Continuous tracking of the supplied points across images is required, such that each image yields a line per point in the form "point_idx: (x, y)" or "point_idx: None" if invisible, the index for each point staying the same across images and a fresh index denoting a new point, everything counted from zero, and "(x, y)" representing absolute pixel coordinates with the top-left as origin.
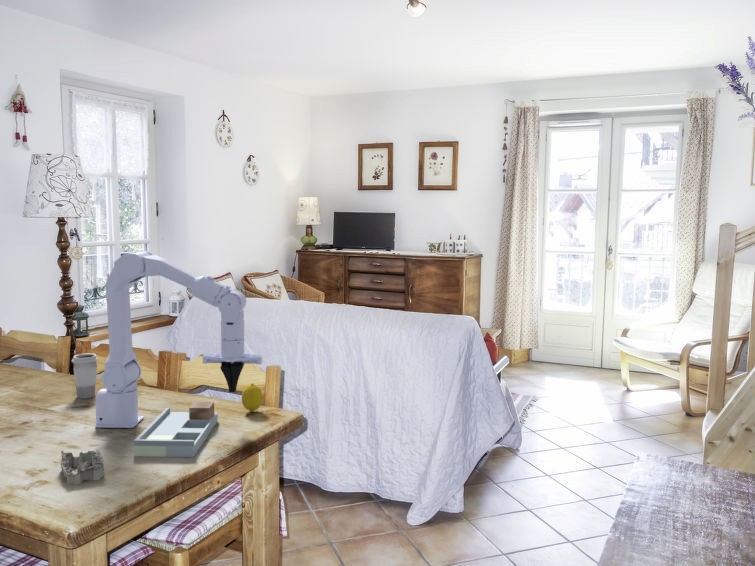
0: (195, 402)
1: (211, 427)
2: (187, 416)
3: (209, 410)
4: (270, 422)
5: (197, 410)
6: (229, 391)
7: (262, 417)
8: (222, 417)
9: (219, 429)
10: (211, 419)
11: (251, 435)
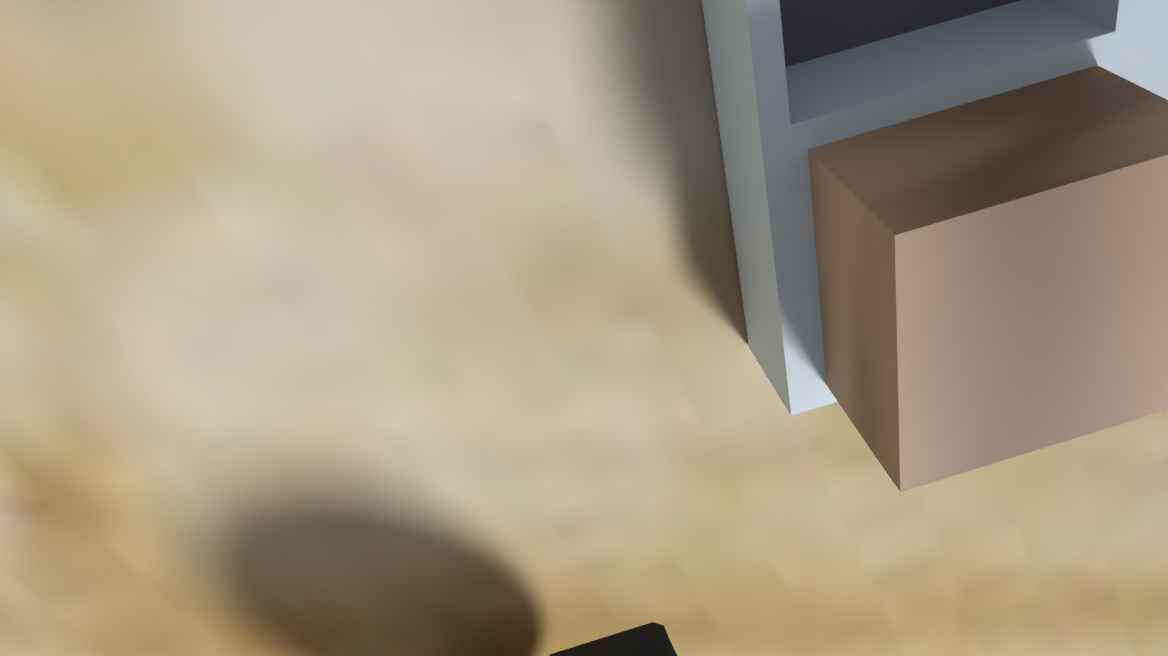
0: (1164, 382)
1: (723, 66)
2: None
3: (874, 220)
4: (122, 532)
5: (1069, 156)
6: (658, 635)
7: (314, 608)
8: (743, 463)
9: (622, 129)
10: (782, 168)
11: (34, 55)
